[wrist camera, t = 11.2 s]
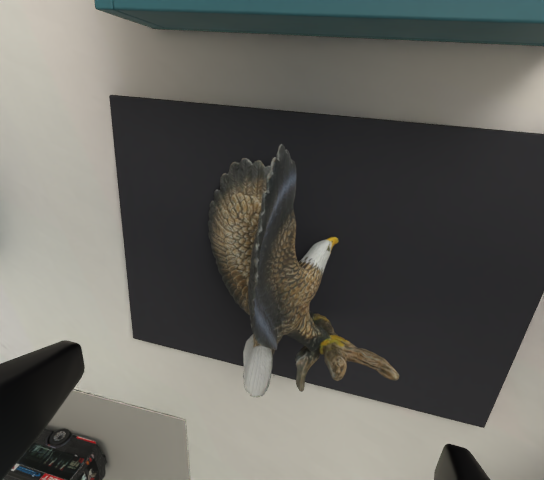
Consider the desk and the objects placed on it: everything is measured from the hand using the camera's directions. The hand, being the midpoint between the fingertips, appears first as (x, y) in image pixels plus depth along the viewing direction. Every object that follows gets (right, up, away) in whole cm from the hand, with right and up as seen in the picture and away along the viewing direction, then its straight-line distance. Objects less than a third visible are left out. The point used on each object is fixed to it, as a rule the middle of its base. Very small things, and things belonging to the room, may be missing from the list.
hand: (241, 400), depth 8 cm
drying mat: (+2, +3, +9) cm, 10 cm away
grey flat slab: (-18, -14, +21) cm, 31 cm away
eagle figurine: (+2, +3, +9) cm, 9 cm away
